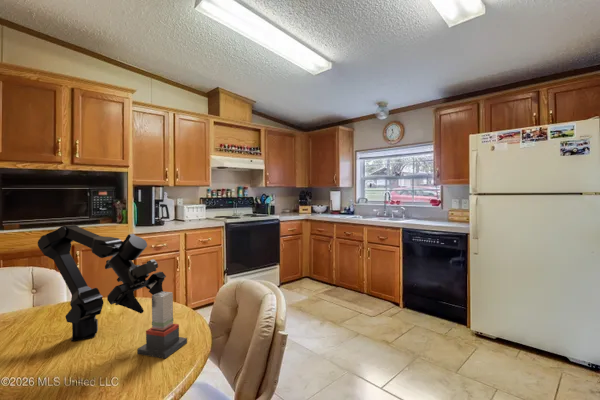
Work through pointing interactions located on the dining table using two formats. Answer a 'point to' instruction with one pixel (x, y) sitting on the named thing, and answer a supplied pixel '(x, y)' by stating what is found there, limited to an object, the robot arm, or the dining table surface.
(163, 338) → the stand
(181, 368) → the dining table surface
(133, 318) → the dining table surface
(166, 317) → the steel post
